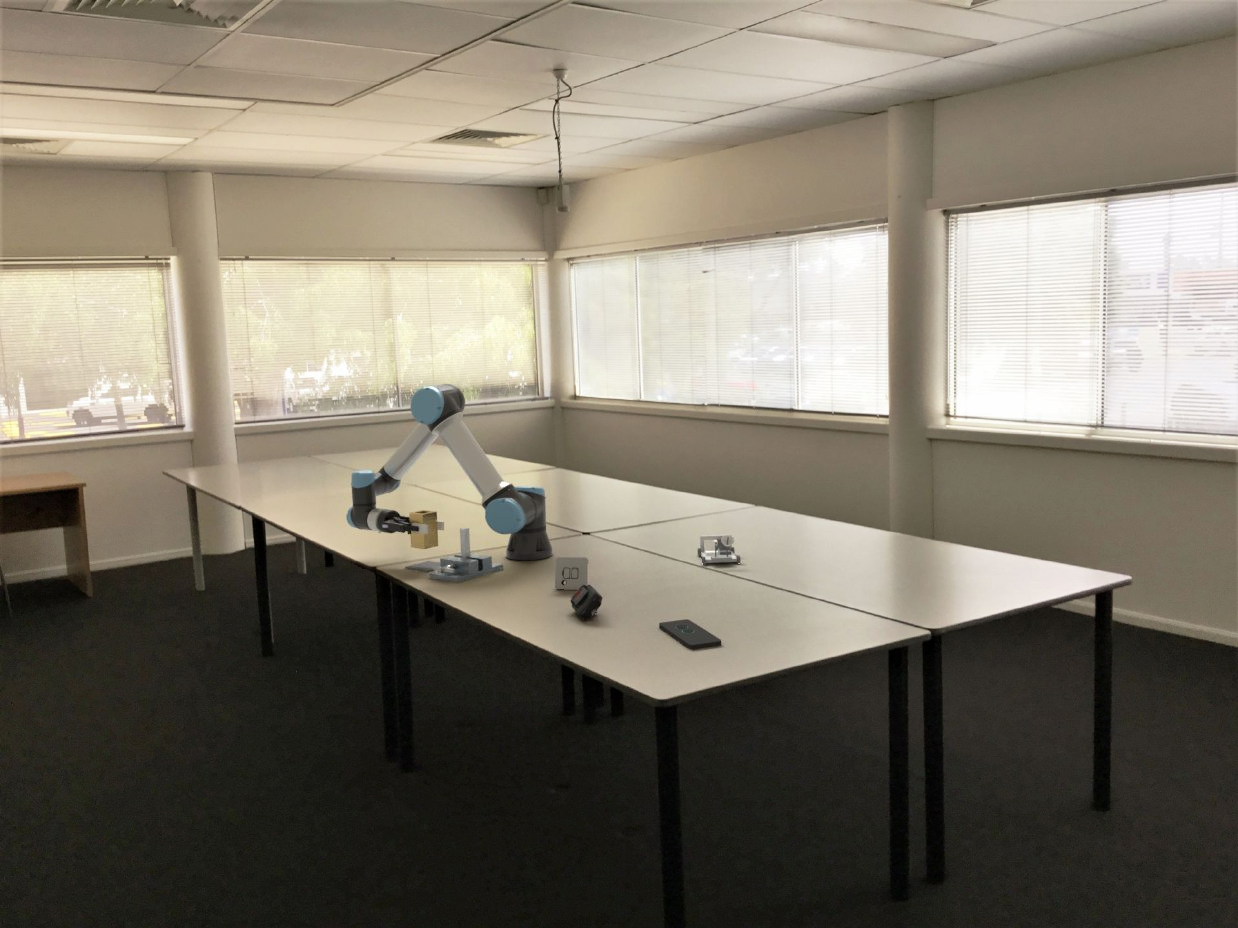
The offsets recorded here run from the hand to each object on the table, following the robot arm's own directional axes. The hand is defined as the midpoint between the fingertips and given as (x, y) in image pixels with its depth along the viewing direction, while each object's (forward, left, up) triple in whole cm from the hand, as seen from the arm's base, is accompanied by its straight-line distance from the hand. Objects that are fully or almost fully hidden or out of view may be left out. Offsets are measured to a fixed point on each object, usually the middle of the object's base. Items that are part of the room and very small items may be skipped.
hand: (435, 527), depth 323 cm
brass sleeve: (+5, -2, -7) cm, 8 cm away
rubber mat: (+4, -2, -13) cm, 14 cm away
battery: (-56, +51, -14) cm, 77 cm away
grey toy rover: (-87, -13, -14) cm, 89 cm away
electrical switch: (-47, +23, -13) cm, 54 cm away
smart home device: (-84, +68, -14) cm, 109 cm away
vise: (-11, +6, -13) cm, 18 cm away
